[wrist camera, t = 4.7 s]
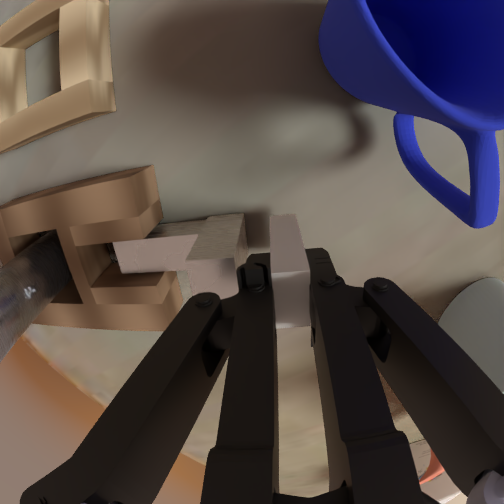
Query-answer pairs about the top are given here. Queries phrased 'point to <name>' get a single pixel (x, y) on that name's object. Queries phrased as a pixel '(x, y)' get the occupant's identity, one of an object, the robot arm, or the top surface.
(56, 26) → the frame
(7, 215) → the socket block
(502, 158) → the top surface
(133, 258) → the drift key
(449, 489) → the ink box
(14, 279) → the peg
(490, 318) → the mug
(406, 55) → the mug
